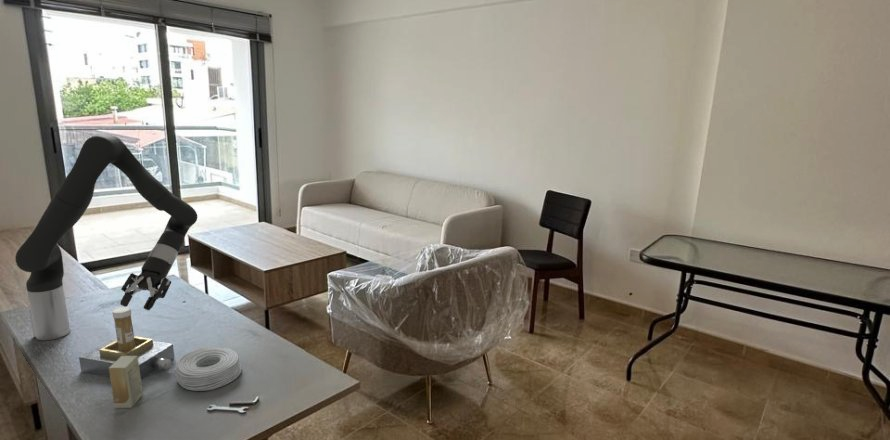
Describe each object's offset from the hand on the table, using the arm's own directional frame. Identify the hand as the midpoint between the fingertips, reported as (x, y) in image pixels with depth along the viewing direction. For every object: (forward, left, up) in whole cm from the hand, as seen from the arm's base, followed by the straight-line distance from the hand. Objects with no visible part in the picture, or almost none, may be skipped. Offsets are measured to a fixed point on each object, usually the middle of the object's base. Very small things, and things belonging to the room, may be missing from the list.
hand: (134, 307), depth 146 cm
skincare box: (+15, -19, -17) cm, 30 cm away
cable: (+27, -3, -18) cm, 33 cm away
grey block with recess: (+2, -4, -17) cm, 18 cm away
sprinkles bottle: (0, -4, -12) cm, 13 cm away
